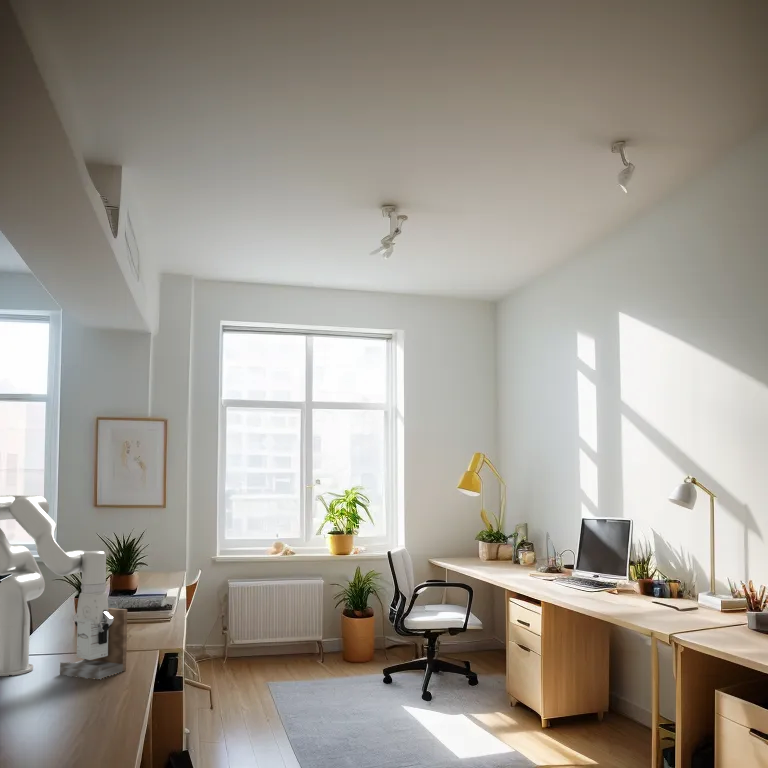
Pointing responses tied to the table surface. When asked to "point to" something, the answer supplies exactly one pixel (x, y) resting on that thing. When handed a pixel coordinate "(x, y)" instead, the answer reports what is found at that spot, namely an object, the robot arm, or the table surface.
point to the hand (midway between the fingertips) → (92, 642)
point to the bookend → (115, 652)
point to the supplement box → (90, 640)
